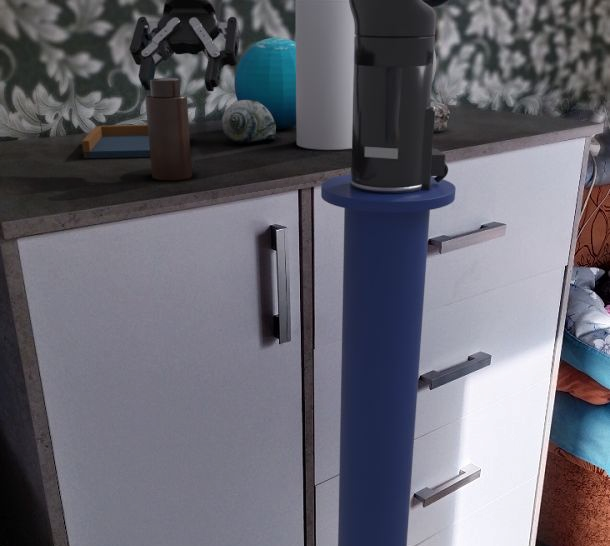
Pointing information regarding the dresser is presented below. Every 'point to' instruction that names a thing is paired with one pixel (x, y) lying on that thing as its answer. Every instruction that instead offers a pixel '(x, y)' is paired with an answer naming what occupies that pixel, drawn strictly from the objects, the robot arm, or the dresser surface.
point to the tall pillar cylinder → (324, 74)
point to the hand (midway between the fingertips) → (177, 86)
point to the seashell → (248, 122)
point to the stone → (440, 116)
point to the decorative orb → (270, 79)
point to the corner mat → (117, 142)
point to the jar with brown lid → (168, 130)
